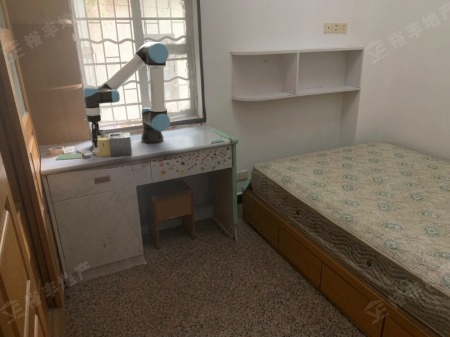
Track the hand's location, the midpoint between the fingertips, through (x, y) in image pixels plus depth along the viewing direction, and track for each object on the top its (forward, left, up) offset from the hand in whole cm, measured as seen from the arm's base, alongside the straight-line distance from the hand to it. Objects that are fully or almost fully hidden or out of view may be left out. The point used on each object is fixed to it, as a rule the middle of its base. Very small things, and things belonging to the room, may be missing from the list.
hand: (98, 149), depth 216 cm
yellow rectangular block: (-5, 0, -4) cm, 6 cm away
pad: (+16, 0, -4) cm, 17 cm away
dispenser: (-14, 0, -4) cm, 14 cm away
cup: (+1, -20, -4) cm, 20 cm away
